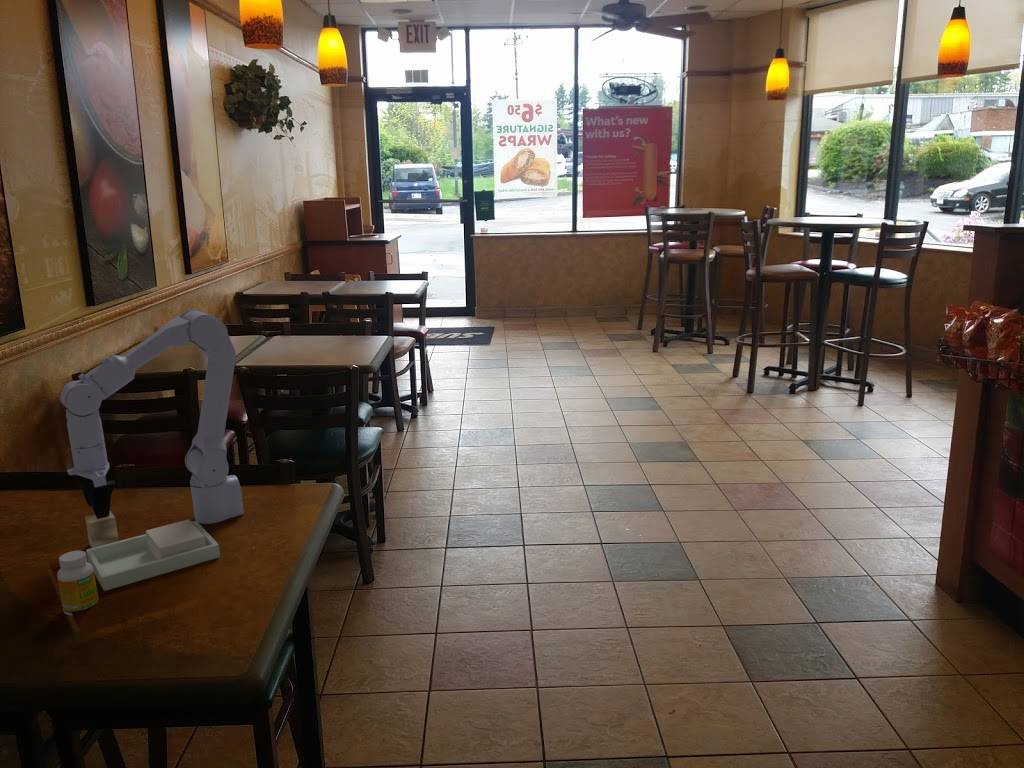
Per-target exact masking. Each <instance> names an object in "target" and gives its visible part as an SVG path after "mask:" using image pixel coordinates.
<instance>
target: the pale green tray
mask: <svg viewBox="0 0 1024 768" xmlns="http://www.w3.org/2000/svg"><path fill="white" fill-rule="evenodd" d="M191 522H192V523H193V524H194V525H195V527H196V528H197V529H198V530H199V531H200V532H201V533H202V534H203V535H204V536H205V543H206V546H205V547H202V548H198V549H195V550H191V551H187V552H184V553H180V554H177V555H173V556H170V557H166V558H163V559H159V560H156V559H155V558H154V556H153V555H152V554H151V552H150V551H149V549H148V542H147V536H146V533H145V534H142V535H141V534H140V535H137V536H133V537H129V538H125V539H123V540H122V539H121V540H119V541H117V542H113V543H110V544H106V545H102V546H98V547H94V548H91V547H90V548H88V549H85V553H86V557H87V562H88V563H90V564H91V565H92V566H93V569H94V575H95V578H96V579H97V580H98V583H99V584H100V586H101V588H102V589H103V591H104V592H107V591H110V590H112V589H116V588H119V587H123V586H127V585H129V584H133V583H137V582H139V581H143V580H146V579H150V578H153V577H157V576H160V575H163V574H166V573H167V574H168V573H171V572H174V571H177V570H180V569H181V570H182V569H184V568H188V567H191V566H195V565H197V564H200V563H201V564H202V563H204V562H208V561H211V560H215V559H219V558H221V554H220V553H221V552H220V545H219V542H217V541H216V540H215V539H214V538H213V537H212V536H211V535H210V534H209V533H208V532H207V531H206V529H204V527H203V525H201V523H198V522H197V521H196V520H194V521H191Z"/></svg>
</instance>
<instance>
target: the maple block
mask: <svg viewBox="0 0 1024 768" xmlns="http://www.w3.org/2000/svg"><path fill="white" fill-rule="evenodd" d="M84 519H85V527H86V531H87V537H88V543H89V546H90V549H91V548H94V547H98V546H102V545H106V544H110V543H113V542H117V541H120V539H119V533H118V527H117V521H116V517H115V515H114V514H113V512H112V511H111V510H110V513H109V517H105V518H100V519H97V518H96V516H95V514H94V513H93V514H87V515H84Z"/></svg>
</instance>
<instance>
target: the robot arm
mask: <svg viewBox="0 0 1024 768" xmlns="http://www.w3.org/2000/svg"><path fill="white" fill-rule="evenodd" d="M191 343H193V345H195V346H197V348H198V349H199V350H200V351H201V352H202V353H203V354H204V356H206V357H207V359H208V360H207V365H206V366H207V367H206V372H205V373H206V374H205V378H204V379H205V380H204V386H203V393H202V401H201V407H200V413H199V420H198V427H197V433H196V434H195V436H193V438H192V441H191V446H190V448H189V450H188V451H187V453H186V455H185V458H184V463H185V464H184V465H185V467H186V468H187V470H188V472H190V473H191V477H190V480H189V485H190V492H191V499H192V507H193V514H194V519H195V520H194V521H197V522H198V523H199V524H203V525H204V524H205V525H207V524H208V525H209V524H217V523H220V522H223V521H226V520H228V519H231V518H235V517H238V516H242V515H245V510H244V504H243V503H244V502H243V494H242V487H241V485H240V481H239V479H238V477H237V475H235V474H230V475H228V474H229V470H230V467H229V463H228V460H227V453H228V449H227V446H226V441H225V431H226V424H227V419H228V414H229V413H228V412H229V405H230V398H231V393H232V392H231V391H232V385H233V378H234V374H235V373H234V372H235V365H236V359H237V352H236V349H235V347H234V344H233V343H232V341H231V338H230V335H229V333H228V327H227V326H226V325H225V324H224V323H223V322H222V321H221V320H220V319H219V318H218V317H216V316H214V315H212V314H210V313H209V314H208V313H205V312H203V311H202V310H200V309H195V308H194V309H193V308H191V309H188V310H185V311H183V312H182V313H181V314H180V315H179V316H175V317H173V318H171V319H170V320H168V322H167V323H165V324H164V325H163V326H162V327H160V328H159V329H157V331H155V332H154V333H153V334H151V335H150V336H148V337H147V338H146V339H144V340H143V341H142V342H141V343H139V344H138V345H137V346H135V347H134V348H133V349H131V350H130V351H129V352H127V353H126V354H125V355H116V354H115V355H111V356H110V357H108V356H104V357H102V358H101V359H100V362H101V363H100V364H98V365H97V366H96V367H94V368H93V369H91V370H89V371H88V372H87V373H85V374H84V373H81V374H80V375H78V380H72V381H69V382H68V383H66V384H65V385H64V386H63V388H62V390H61V392H60V396H59V400H60V403H61V404H62V405H63V406H64V407H65V408H66V409H65V412H66V413H65V417H66V420H67V422H66V426H67V432H68V437H69V439H68V440H69V444H70V449H71V456H72V462H73V467H72V468H68V469H67V474H68V475H69V476H73V478H74V479H75V480H76V481H77V483H78V485H79V486H80V488H81V490H82V493H83V496H84V499H85V501H86V503H87V506H89V508H90V507H91V508H92V510H93V514H95V516H96V518H97V519H100V518H105V517H109V513H110V511H111V502H112V501H111V500H112V495H113V491H114V489H115V487H116V481H115V480H114V479H111V480H107V478H106V475H107V473H108V471H109V470H110V462H108V455H107V449H106V441H105V437H104V430H103V429H104V428H103V424H102V419H101V416H100V411H99V409H100V407H101V405H102V402H103V400H106V399H108V398H109V397H111V396H112V395H113V394H115V393H116V392H118V391H119V390H120V389H122V388H124V387H125V386H126V385H128V383H131V382H132V381H133V380H134V379H135V375H136V372H137V369H139V368H141V367H142V366H144V365H145V364H147V363H148V362H150V361H151V360H154V359H155V358H156V357H158V356H159V355H161V354H162V353H165V352H166V351H167V350H168V349H170V348H173V347H190V346H192V344H191Z"/></svg>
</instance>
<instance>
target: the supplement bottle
mask: <svg viewBox="0 0 1024 768" xmlns="http://www.w3.org/2000/svg"><path fill="white" fill-rule="evenodd" d="M58 561H59V566H60V569H59V570H58V571H57V573H56V577H57V583H58V589H59V593H60V600H61V604H62V605H61V606H62V611H63V613H64V614H65V615H67V616H70V617H71V616H72V617H73V613H72V612H81V611H83V610H88V609H89V608H91V607H93V606H94V605H97V603H98V602H99V593H98V587H97V582H96V581H97V580H96V575H95V574H94V569H93V566H92V565H91V564H90V563H88V558H87V553H86V551H83V550H73V551H69V552H66V553H64V554H62V555H60V556H59V557H58Z"/></svg>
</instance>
